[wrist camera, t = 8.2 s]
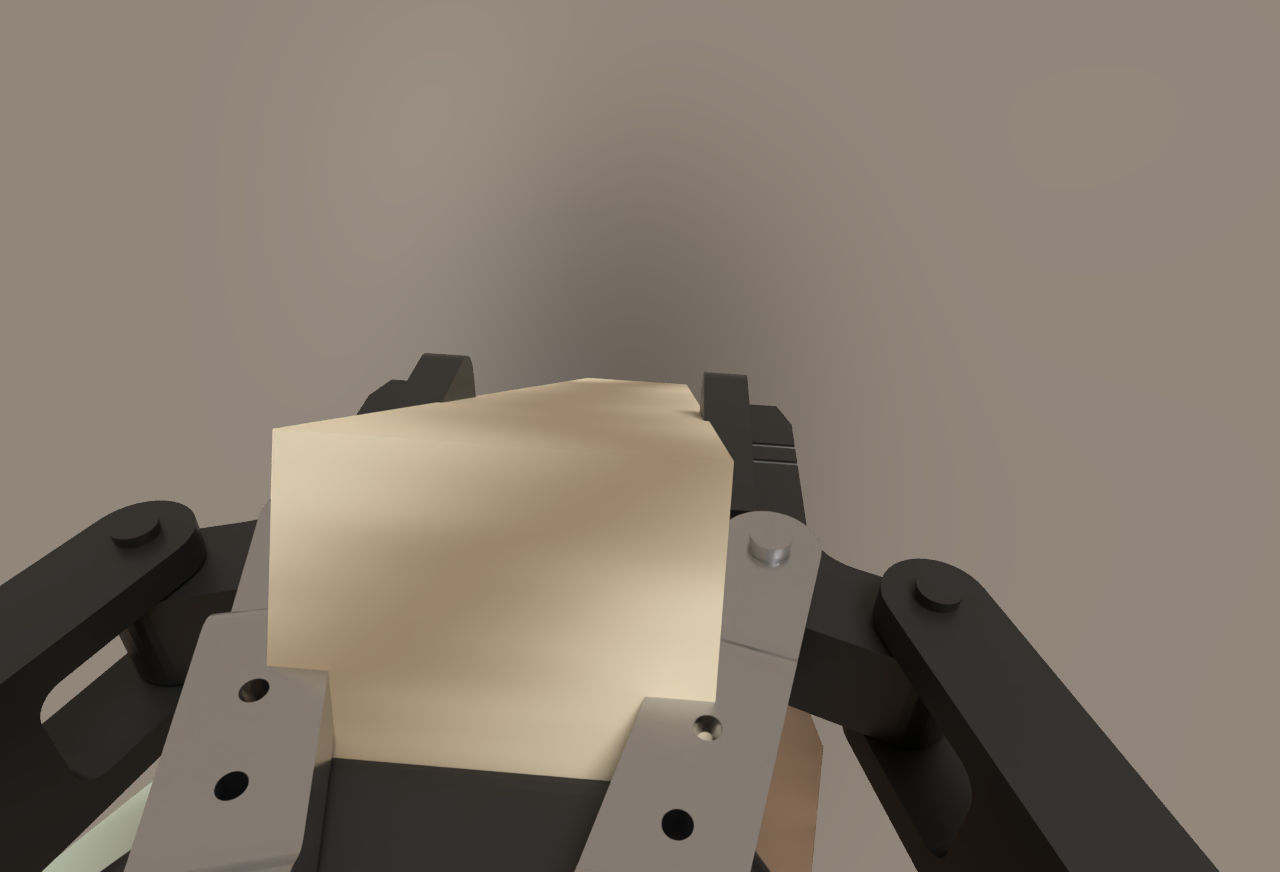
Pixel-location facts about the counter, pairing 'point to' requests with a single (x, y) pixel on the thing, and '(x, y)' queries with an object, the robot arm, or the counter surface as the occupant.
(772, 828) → the step shelf
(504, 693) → the birch bar
